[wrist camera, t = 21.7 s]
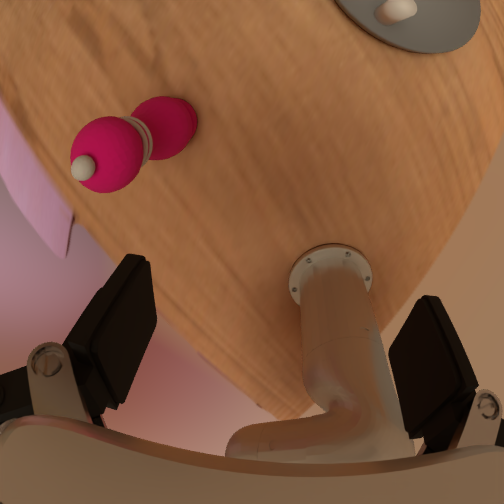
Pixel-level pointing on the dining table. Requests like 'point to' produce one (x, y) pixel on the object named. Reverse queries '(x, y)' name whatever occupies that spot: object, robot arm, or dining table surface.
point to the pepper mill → (130, 142)
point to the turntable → (417, 22)
